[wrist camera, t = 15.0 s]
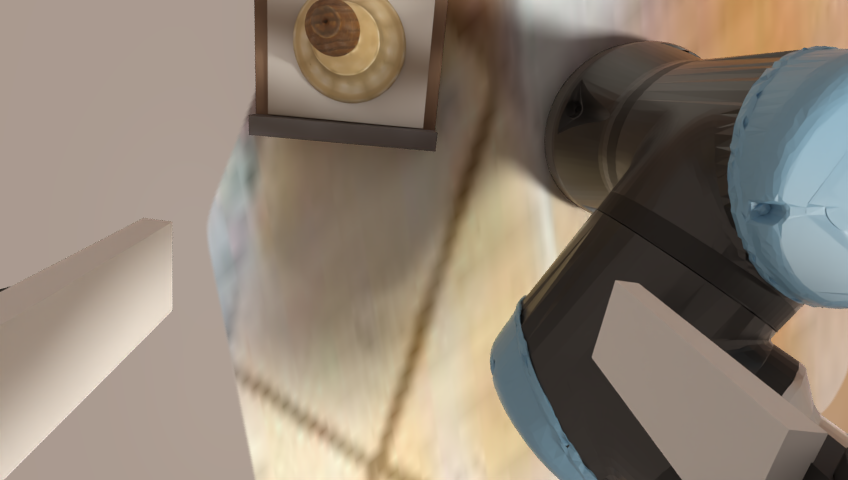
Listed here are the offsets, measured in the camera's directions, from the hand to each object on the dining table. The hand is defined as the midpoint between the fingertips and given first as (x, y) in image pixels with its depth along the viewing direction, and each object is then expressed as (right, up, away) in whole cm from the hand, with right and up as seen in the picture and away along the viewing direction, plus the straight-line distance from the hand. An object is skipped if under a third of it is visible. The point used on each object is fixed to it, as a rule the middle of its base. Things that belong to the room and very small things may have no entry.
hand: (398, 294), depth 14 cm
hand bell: (-5, +16, +21) cm, 27 cm away
